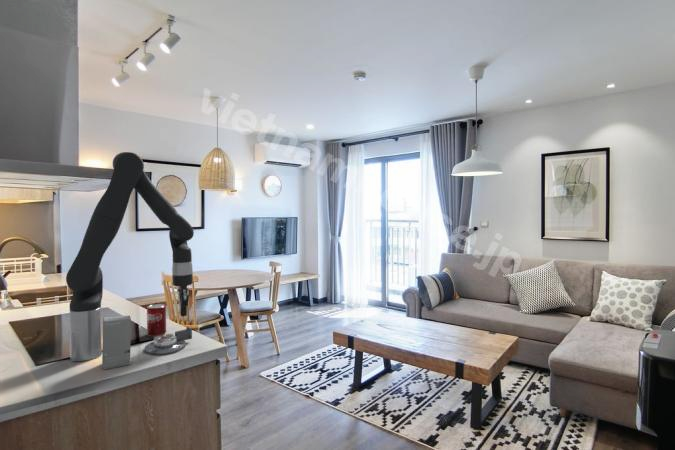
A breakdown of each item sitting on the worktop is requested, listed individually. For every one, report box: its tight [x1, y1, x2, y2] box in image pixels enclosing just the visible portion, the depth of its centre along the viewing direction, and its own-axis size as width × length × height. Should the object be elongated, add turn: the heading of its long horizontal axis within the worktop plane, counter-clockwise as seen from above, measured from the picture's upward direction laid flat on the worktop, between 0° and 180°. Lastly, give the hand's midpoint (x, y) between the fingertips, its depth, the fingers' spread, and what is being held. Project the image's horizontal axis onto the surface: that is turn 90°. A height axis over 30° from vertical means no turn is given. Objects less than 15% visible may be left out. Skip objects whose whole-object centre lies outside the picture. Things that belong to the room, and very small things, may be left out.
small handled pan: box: [153, 326, 193, 349], centre depth 145 cm, size 14×8×5 cm, turn 131°
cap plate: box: [144, 340, 186, 356], centre depth 143 cm, size 14×14×1 cm
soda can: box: [146, 303, 167, 338], centre depth 158 cm, size 7×7×12 cm
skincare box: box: [101, 315, 132, 370], centre depth 128 cm, size 8×7×16 cm
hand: (183, 315), depth 152 cm, fingers closed
